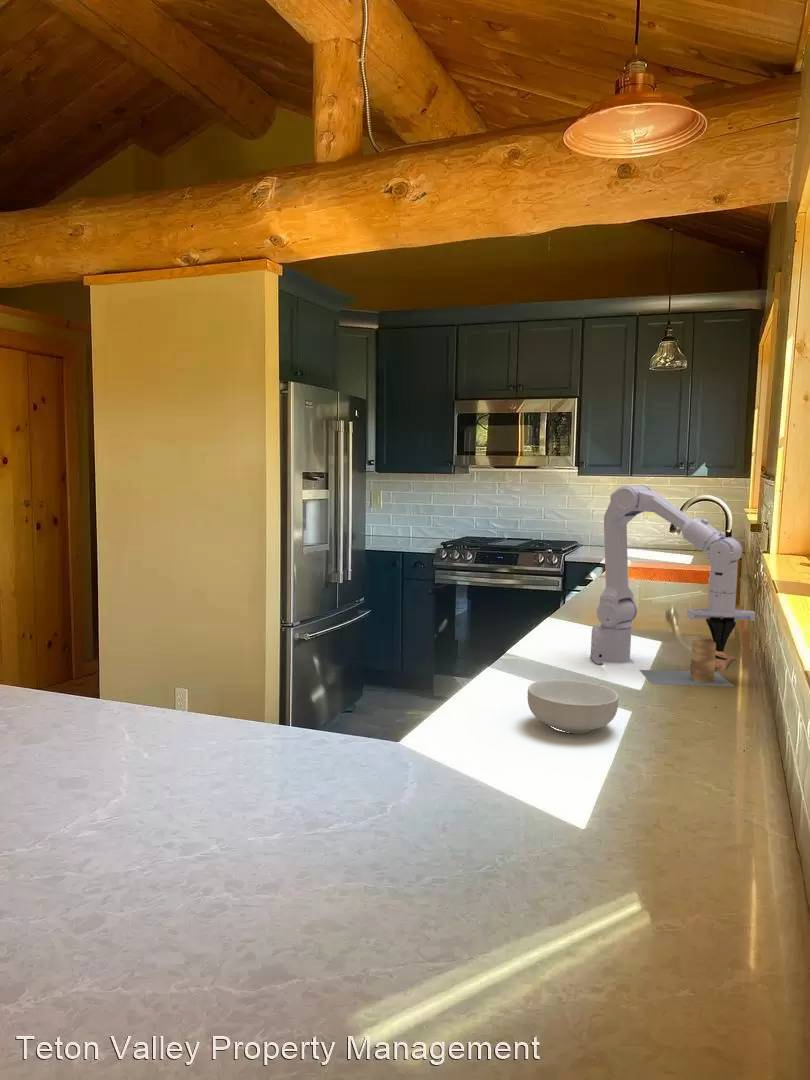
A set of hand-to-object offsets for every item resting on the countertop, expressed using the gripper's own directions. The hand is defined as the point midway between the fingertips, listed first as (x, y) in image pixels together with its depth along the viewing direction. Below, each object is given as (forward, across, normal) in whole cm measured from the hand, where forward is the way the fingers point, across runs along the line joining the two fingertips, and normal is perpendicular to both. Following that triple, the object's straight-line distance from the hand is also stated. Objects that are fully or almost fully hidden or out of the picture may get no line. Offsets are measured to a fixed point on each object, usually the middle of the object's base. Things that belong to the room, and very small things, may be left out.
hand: (718, 650), depth 182 cm
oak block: (+7, -3, 0) cm, 8 cm away
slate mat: (+7, -7, +1) cm, 10 cm away
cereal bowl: (+8, -38, -34) cm, 52 cm away
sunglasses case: (+8, +5, +16) cm, 19 cm away
